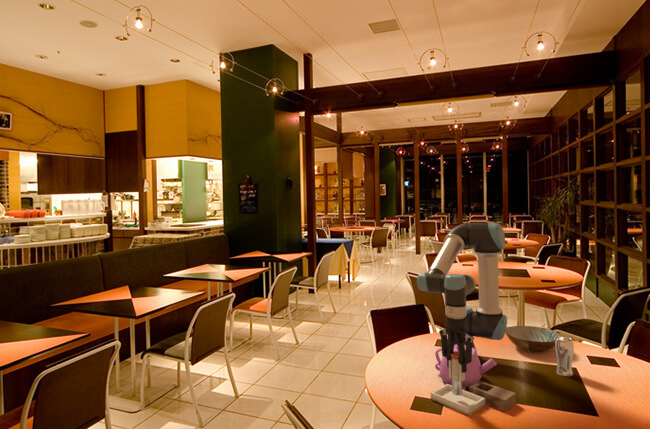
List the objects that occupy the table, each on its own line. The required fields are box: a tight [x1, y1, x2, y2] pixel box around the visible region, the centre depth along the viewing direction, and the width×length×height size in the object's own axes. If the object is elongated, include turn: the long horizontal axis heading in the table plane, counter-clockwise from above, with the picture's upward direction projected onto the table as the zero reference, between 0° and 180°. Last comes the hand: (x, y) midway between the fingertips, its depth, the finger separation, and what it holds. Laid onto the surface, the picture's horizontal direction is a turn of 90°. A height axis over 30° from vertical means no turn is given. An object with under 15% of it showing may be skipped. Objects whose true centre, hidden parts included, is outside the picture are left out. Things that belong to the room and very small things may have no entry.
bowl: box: [505, 325, 562, 354], centre depth 201 cm, size 25×25×8 cm
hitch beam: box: [468, 380, 517, 412], centre depth 150 cm, size 14×8×4 cm, turn 39°
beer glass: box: [554, 335, 575, 377], centre depth 171 cm, size 7×7×15 cm
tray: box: [430, 383, 486, 416], centre depth 150 cm, size 16×11×2 cm
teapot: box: [434, 344, 497, 388], centre depth 170 cm, size 19×21×14 cm
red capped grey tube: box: [450, 351, 463, 396], centre depth 149 cm, size 4×4×15 cm
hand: (456, 378), depth 149 cm, fingers closed on red capped grey tube, 3 cm apart
